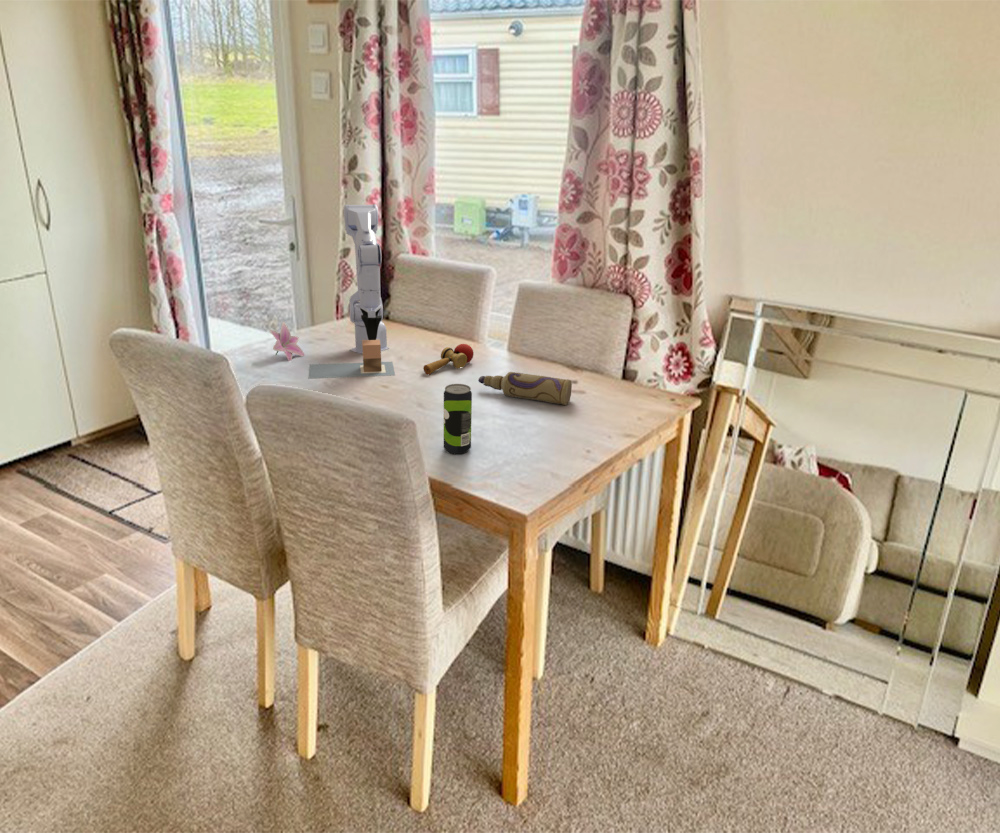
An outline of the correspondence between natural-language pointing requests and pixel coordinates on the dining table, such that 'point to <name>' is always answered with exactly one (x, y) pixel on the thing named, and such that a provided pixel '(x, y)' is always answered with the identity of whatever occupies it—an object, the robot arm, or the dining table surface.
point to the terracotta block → (371, 349)
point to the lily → (286, 342)
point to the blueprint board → (347, 370)
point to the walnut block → (372, 365)
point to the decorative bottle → (531, 387)
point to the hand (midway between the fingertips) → (371, 335)
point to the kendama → (451, 358)
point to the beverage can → (457, 418)
